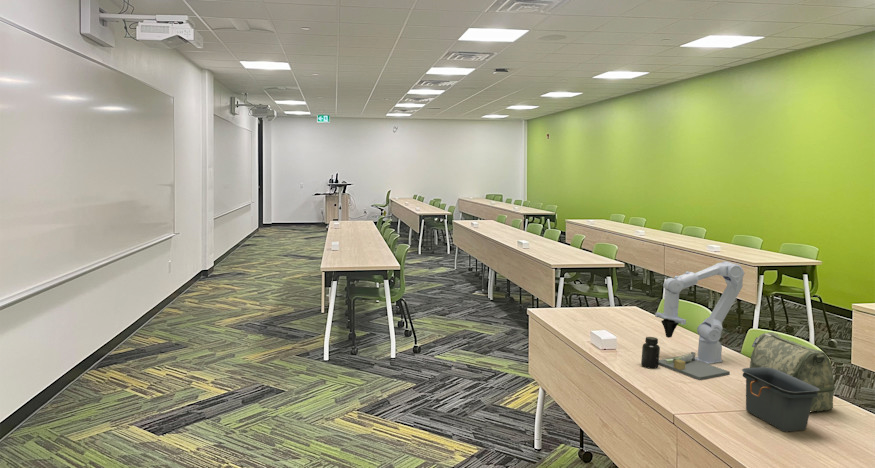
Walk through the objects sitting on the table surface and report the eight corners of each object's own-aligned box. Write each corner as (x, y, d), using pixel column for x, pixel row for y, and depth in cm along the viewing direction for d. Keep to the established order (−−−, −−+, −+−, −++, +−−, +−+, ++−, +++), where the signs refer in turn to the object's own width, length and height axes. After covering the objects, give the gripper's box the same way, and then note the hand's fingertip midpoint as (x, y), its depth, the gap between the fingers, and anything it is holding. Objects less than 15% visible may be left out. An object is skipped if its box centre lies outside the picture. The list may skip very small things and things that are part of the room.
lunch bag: (738, 387, 215) (743, 330, 213) (781, 385, 218) (786, 330, 216) (792, 415, 190) (798, 351, 188) (839, 413, 193) (846, 350, 191)
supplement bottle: (659, 369, 232) (662, 341, 231) (642, 368, 234) (644, 339, 233) (656, 364, 239) (658, 336, 238) (639, 362, 240) (641, 335, 239)
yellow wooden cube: (678, 366, 233) (679, 359, 233) (685, 368, 230) (685, 361, 230) (673, 367, 232) (674, 360, 231) (679, 369, 229) (680, 362, 229)
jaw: (688, 357, 242) (689, 353, 242) (693, 358, 241) (693, 354, 240) (672, 362, 234) (673, 358, 234) (677, 363, 232) (677, 359, 232)
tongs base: (683, 358, 249) (684, 348, 248) (729, 374, 229) (730, 363, 229) (654, 363, 240) (655, 352, 240) (699, 380, 221) (700, 368, 221)
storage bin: (821, 434, 176) (825, 389, 174) (778, 437, 172) (783, 391, 171) (767, 407, 196) (770, 366, 195) (728, 409, 193) (731, 368, 191)
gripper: (651, 303, 249) (649, 333, 250) (678, 310, 236) (676, 342, 238) (662, 302, 252) (660, 332, 254) (690, 309, 240) (687, 340, 241)
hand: (668, 337), depth 246 cm, fingers closed
